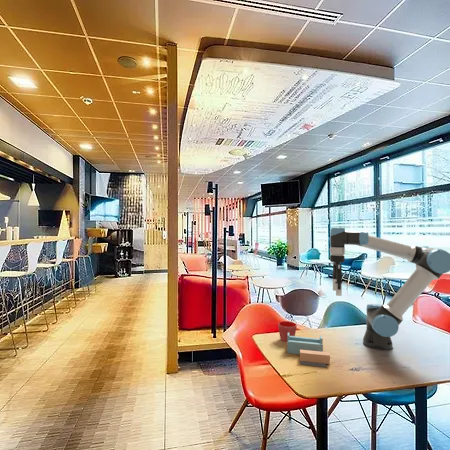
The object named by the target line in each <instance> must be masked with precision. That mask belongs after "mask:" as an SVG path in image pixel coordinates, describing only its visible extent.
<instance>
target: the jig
mask: <svg viewBox="0 0 450 450" xmlns="http://www.w3.org/2000/svg"><path fill="white" fill-rule="evenodd" d="M286 343H287V345H286V347H287V349H286V350H287V351H286V352H287V354H292V355H293V354H294V355H300V350H310V351H320V352H324V344H323V343H324V340H323V335H319V338H317V337H316V338H315V337H307V336H297V335H295V336H289V333H288V341H287V342H286Z"/></svg>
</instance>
